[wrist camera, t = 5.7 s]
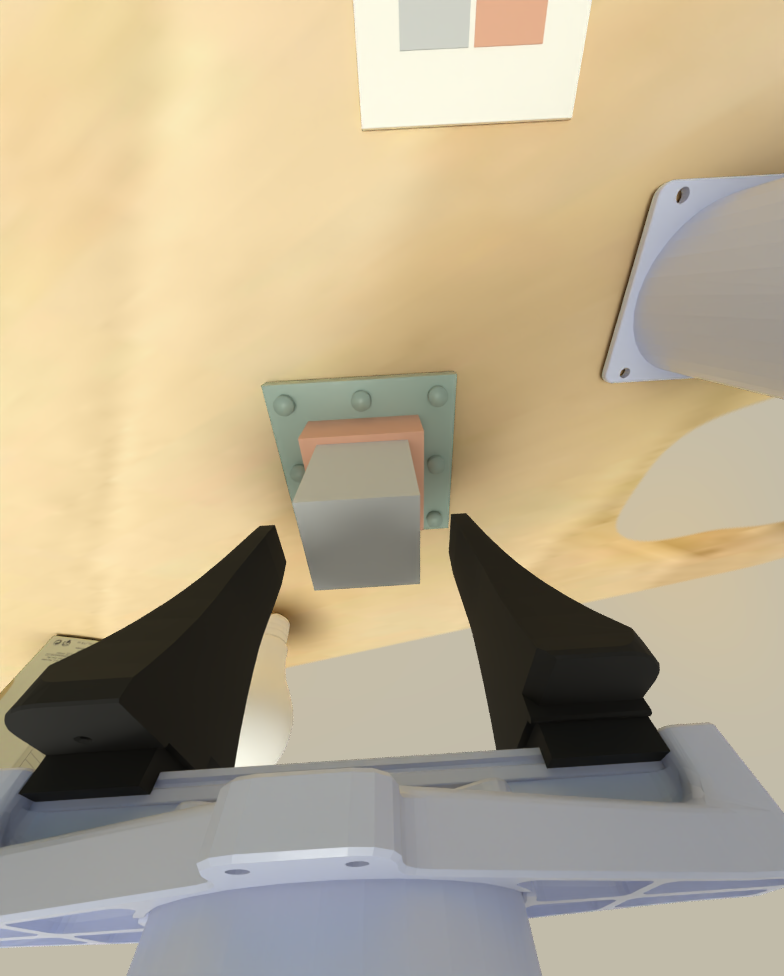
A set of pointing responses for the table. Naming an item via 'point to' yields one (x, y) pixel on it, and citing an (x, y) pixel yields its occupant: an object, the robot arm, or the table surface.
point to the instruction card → (467, 61)
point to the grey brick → (360, 515)
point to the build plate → (365, 400)
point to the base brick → (369, 439)
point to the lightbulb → (267, 701)
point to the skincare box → (4, 745)
